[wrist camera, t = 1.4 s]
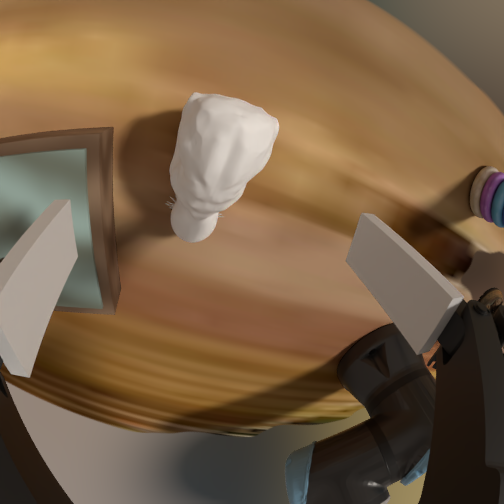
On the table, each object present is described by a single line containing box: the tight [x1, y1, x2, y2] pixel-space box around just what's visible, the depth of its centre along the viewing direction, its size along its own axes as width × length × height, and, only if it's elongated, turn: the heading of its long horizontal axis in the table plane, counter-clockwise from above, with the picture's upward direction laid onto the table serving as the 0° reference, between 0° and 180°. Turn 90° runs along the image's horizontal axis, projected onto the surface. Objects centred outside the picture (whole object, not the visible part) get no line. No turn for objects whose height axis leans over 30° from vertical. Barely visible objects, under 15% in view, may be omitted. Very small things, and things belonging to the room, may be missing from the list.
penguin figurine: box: [165, 92, 279, 243], centre depth 20 cm, size 6×8×12 cm
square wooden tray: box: [0, 127, 121, 315], centre depth 20 cm, size 16×16×4 cm
